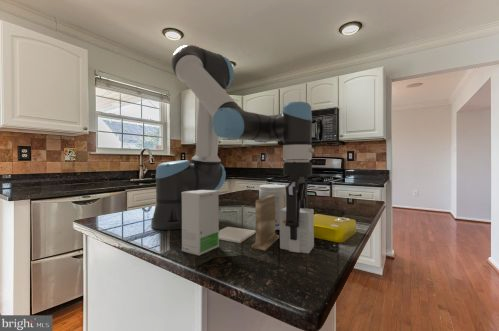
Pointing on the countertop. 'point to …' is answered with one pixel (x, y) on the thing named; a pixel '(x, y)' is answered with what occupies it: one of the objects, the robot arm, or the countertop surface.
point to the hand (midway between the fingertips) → (297, 247)
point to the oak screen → (265, 223)
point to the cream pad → (235, 234)
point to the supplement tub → (279, 199)
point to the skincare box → (200, 221)
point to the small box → (305, 230)
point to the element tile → (333, 228)
